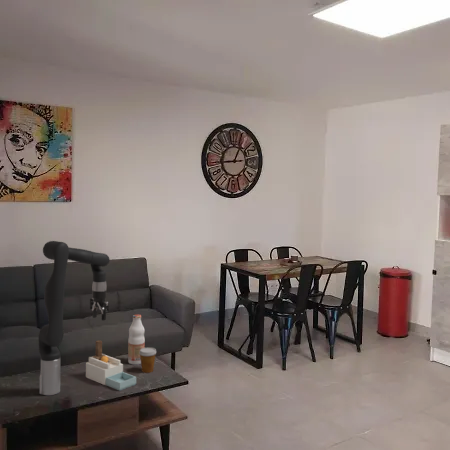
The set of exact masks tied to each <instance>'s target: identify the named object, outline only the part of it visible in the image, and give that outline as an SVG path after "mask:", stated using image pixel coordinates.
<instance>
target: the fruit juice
mask: <svg viewBox="0 0 450 450" xmlns="http://www.w3.org/2000/svg"><path fill="white" fill-rule="evenodd" d="M142 322H143V321H142V315H141V314H134V315H132V323H131V324H130V327H129V328H128V334H129V336H128V340H127V341H128V345H127V347H128V348H127V349H128V351H127V353H128V356H127V362H128V364H130V365H135V366H137V365H141V358H140V353H139V352H140V350H141V349H142V348H146V347H145V346H146V345H145V342H146V341H145V333H146V332H145V327H144V325H143V323H142Z"/></svg>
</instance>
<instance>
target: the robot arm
mask: <svg viewBox="0 0 450 450" xmlns="http://www.w3.org/2000/svg"><path fill="white" fill-rule="evenodd" d="M42 253H43V255H44V257H45V258H46V259H49V260H52V261H53V269H52V272H51V275H50V277H49V279H48V280H47V282H46V283H45V287H44V295H43V296H44V307H45V309H46V312H47V316H48V317H47V318H48V324H46V325H43V326H42V328H41V329H40V330H39V333H38V353H39V355H40V374H39V395H44V396H53V395H56V394H59V393H60V392H61V351H60V350H59V348H58V346H59V345H60V344H61V343H62V342H63V339H64V304H65V303H64V302H65V301H64V300H65V293H66V292H65V291H66V290H65V289H66V288H65V287H66V285H65V284H66V274H67V269H68V268H67V267H68V261H73V262H76V263H80V264H87V265H90V268H91V272H92V285H91V286H92V289H91V291H92V292H91V293H92V294H91V296H92V298H90V299H89V309H90V310H91V311H92V318H93V319H95V318H97V317H98V316H97V315H98V313H97V311H98V309H99V311H100V312H101V321H106V319H107V314H108V313H110V301H106V298H107V285H108V284H107V271H106V270H104V269H102V267H106V266H108V264H109V263H110V256H109V255H108V254H106V253H101V252H94V251H91V250H89V249H88V250H87V249H82V248H74V247H69V246H68V244H67V243H66V242H64V241H58V240H49V241H47V242H46V243H45V244H44V245H43V247H42Z"/></svg>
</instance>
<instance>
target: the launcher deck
mask: <svg viewBox="0 0 450 450" xmlns="http://www.w3.org/2000/svg"><path fill="white" fill-rule="evenodd" d="M102 354H103V355H106V354H105V353H102ZM93 356H94V355H93ZM93 356H88V361H87V362H85V378H87V379H89V380H91V381H94V382H96V383H99V384H102V386H107V385H106V377H109V376H112V375H115V374H117V373H120V372H124V364H123V363H121V359H118V358H115V357H112V356H110V355H106V356H107V357H108V362H107V363H106V362H103V361H100V360H98V359H95V358H93Z"/></svg>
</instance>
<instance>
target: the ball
mask: <svg viewBox="0 0 450 450" xmlns="http://www.w3.org/2000/svg"><path fill="white" fill-rule="evenodd" d="M107 356H108V355H107ZM107 356H103V357H102V358H101V361H103V362H106V363H107V362H108V357H107Z"/></svg>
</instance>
